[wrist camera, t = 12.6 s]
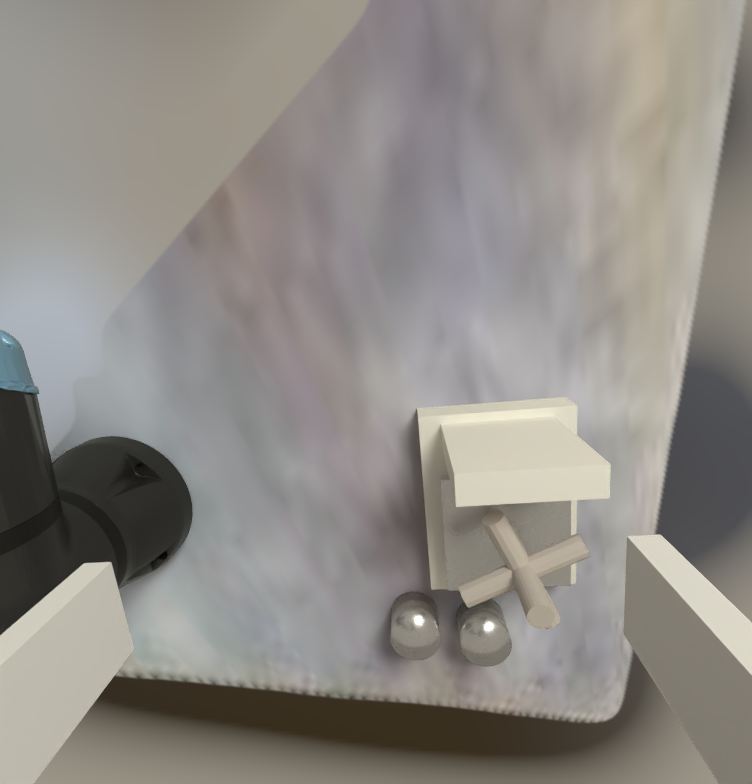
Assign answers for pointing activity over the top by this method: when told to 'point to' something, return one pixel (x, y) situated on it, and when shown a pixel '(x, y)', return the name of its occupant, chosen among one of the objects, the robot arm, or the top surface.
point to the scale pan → (475, 548)
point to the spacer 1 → (415, 626)
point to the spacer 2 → (483, 633)
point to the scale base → (504, 462)
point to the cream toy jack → (522, 571)
